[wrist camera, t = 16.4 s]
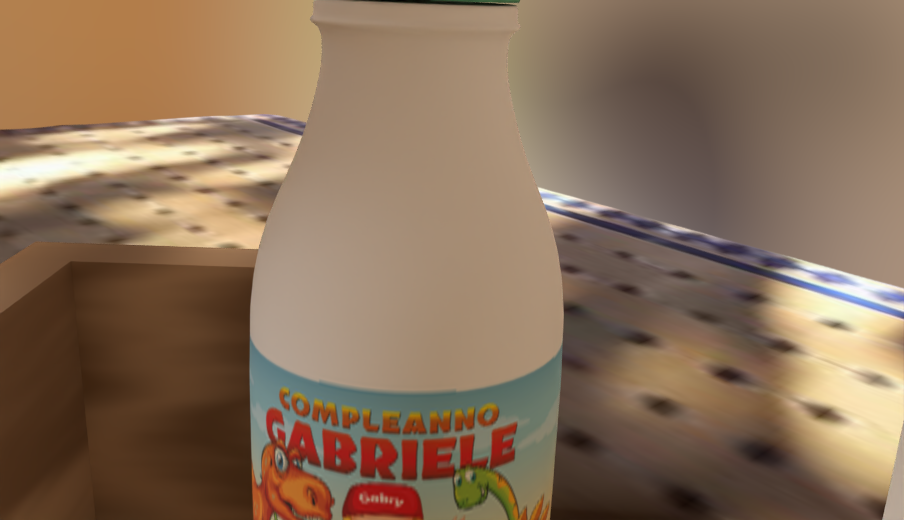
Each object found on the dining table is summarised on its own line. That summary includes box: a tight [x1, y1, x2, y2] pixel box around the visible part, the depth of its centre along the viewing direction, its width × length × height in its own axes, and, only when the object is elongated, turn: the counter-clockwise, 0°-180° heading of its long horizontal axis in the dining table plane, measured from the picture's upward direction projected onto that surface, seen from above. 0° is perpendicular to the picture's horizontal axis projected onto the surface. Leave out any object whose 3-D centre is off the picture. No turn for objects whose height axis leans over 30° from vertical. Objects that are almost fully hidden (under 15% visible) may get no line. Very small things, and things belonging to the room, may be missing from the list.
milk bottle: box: [250, 0, 564, 520], centre depth 21 cm, size 8×8×20 cm
